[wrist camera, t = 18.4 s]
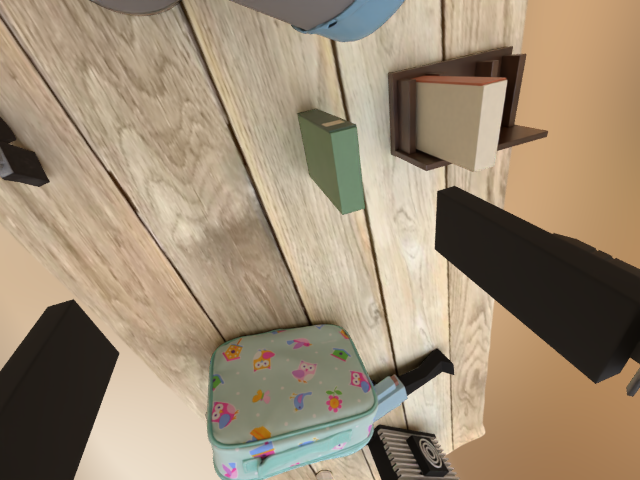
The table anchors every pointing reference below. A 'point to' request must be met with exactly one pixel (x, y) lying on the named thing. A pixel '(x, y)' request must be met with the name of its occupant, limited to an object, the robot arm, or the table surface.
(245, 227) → the table surface
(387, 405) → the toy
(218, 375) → the lunch box
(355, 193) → the green book
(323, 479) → the eye dropper bottle
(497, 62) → the book rack
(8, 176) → the black narrow holder
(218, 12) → the table surface
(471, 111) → the cream book
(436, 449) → the electronic device
